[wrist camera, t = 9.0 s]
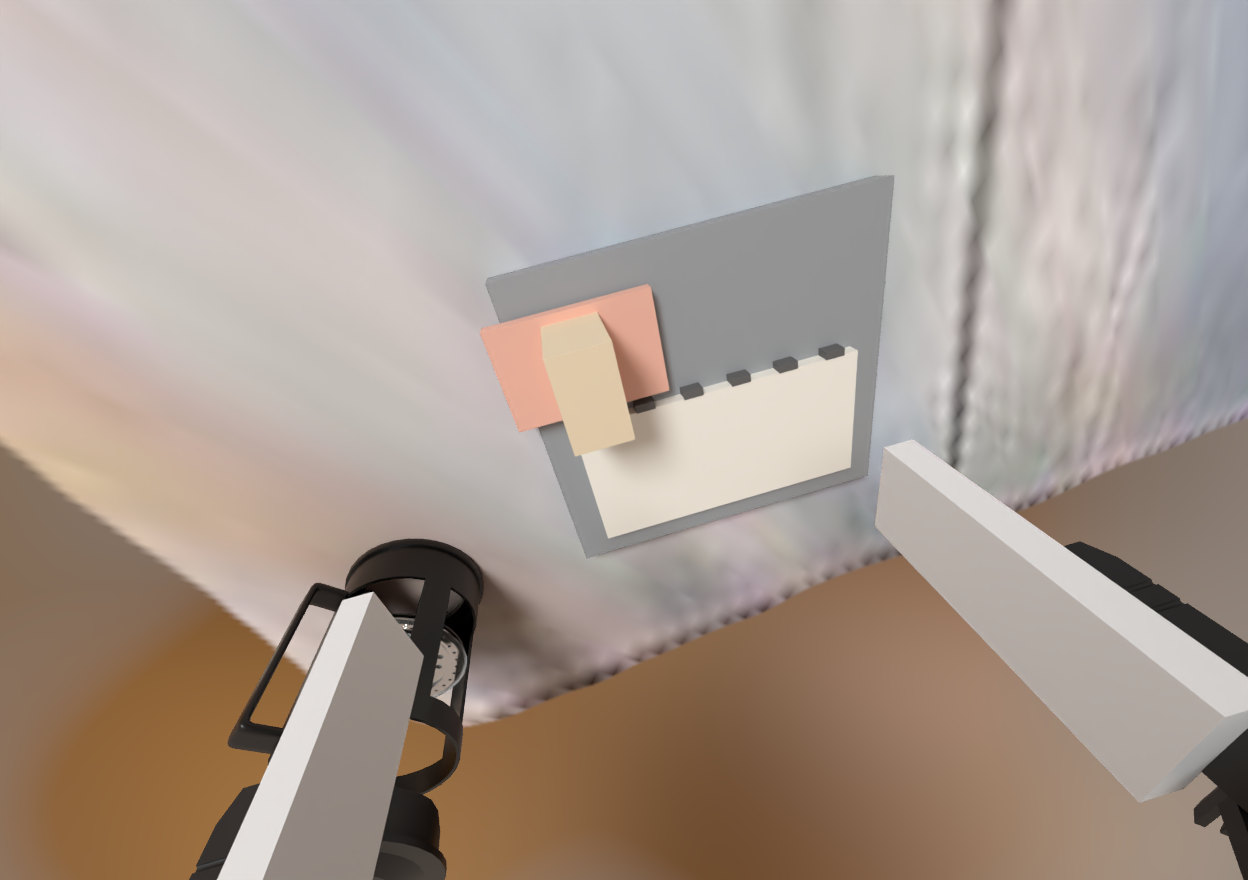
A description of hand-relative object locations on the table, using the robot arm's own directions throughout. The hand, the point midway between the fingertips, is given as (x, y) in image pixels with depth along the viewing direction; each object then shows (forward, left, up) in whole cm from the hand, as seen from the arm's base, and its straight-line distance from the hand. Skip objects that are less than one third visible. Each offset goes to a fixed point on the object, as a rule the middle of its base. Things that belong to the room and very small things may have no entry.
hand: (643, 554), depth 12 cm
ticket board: (-7, +5, -18) cm, 20 cm away
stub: (0, 0, -16) cm, 16 cm away
